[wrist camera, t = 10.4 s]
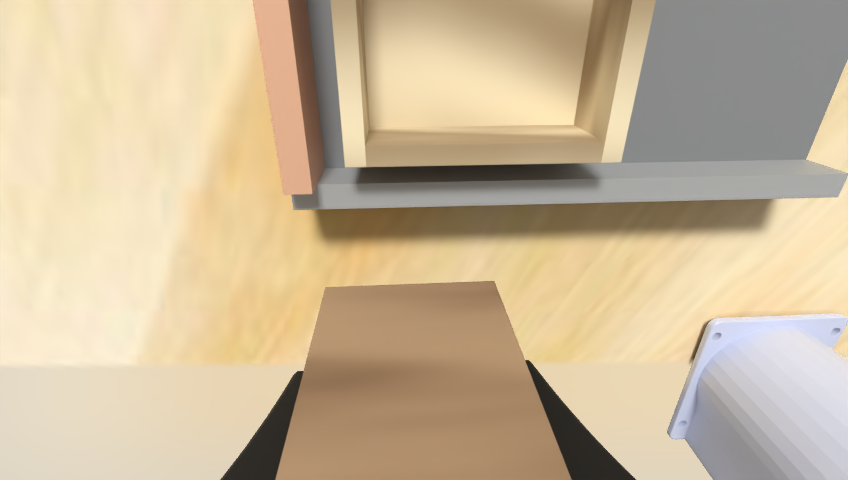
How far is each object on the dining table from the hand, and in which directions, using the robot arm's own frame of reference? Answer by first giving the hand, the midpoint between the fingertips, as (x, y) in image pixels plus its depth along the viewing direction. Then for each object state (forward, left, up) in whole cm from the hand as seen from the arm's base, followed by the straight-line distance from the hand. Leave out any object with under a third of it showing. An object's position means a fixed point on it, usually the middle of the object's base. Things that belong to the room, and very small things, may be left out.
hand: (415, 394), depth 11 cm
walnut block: (0, 0, -2) cm, 2 cm away
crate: (+9, -3, -9) cm, 13 cm away
